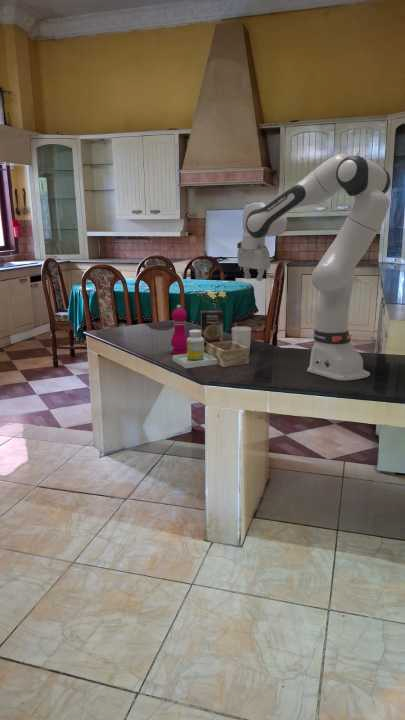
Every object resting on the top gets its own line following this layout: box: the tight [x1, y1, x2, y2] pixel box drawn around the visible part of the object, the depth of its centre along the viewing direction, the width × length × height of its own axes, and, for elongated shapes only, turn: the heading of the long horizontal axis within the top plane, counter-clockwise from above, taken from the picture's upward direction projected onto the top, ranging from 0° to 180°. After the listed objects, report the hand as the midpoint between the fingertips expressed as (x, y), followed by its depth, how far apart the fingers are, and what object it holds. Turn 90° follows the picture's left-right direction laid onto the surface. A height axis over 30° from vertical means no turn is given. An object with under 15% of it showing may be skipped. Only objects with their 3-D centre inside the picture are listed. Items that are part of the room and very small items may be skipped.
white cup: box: [231, 326, 252, 353], centre depth 218 cm, size 8×8×10 cm
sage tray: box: [172, 352, 219, 369], centre depth 205 cm, size 13×13×2 cm
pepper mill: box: [170, 304, 188, 355], centre depth 217 cm, size 7×7×20 cm
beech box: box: [206, 340, 250, 368], centre depth 205 cm, size 15×11×6 cm
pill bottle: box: [186, 329, 205, 362], centre depth 203 cm, size 6×6×12 cm
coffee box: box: [200, 309, 224, 351], centre depth 224 cm, size 9×6×16 cm
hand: (253, 279), depth 215 cm, fingers open, 8 cm apart
